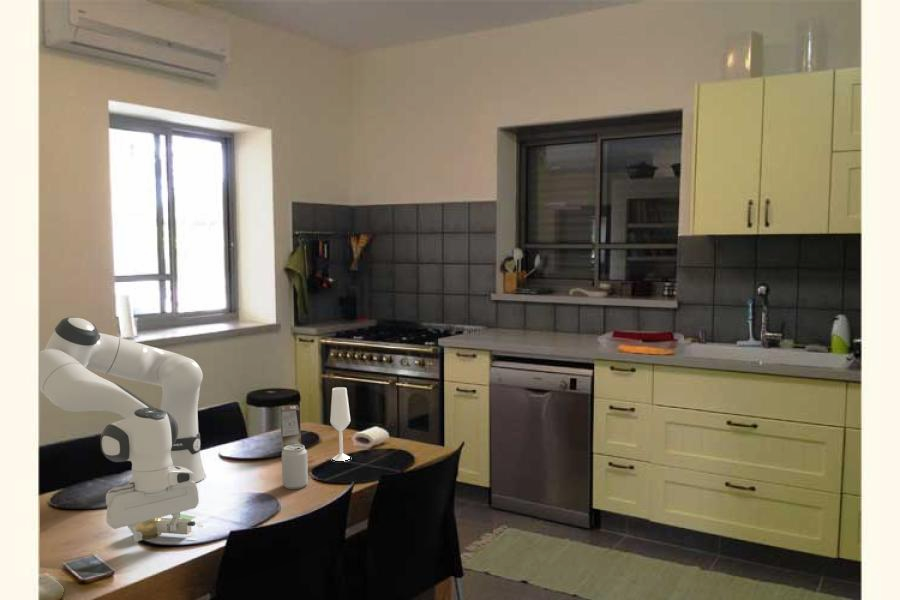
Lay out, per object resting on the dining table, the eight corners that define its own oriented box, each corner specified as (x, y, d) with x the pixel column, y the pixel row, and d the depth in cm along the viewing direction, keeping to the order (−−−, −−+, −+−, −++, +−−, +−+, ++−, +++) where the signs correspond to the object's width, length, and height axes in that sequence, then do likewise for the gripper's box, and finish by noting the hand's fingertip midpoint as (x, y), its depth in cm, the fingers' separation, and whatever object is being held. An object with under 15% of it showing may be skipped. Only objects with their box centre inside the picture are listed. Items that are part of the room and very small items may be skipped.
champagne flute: (337, 455, 238) (335, 386, 237) (355, 457, 236) (353, 387, 234) (327, 460, 232) (325, 390, 230) (345, 462, 230) (343, 391, 228)
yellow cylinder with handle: (129, 538, 167) (128, 518, 166) (145, 528, 173) (144, 509, 172) (187, 542, 164) (186, 522, 163) (201, 532, 170) (200, 512, 169)
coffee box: (301, 455, 238) (300, 409, 237) (282, 457, 237) (281, 411, 235) (299, 448, 247) (298, 404, 246) (281, 450, 245) (279, 405, 244)
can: (302, 490, 203) (300, 450, 202) (278, 489, 204) (276, 449, 204) (312, 482, 210) (310, 443, 209) (289, 481, 212) (287, 442, 211)
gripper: (109, 492, 153) (112, 553, 153) (200, 471, 166) (202, 527, 167) (100, 485, 157) (103, 544, 158) (189, 466, 171) (191, 520, 172)
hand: (155, 535), depth 163 cm, fingers open, 6 cm apart
